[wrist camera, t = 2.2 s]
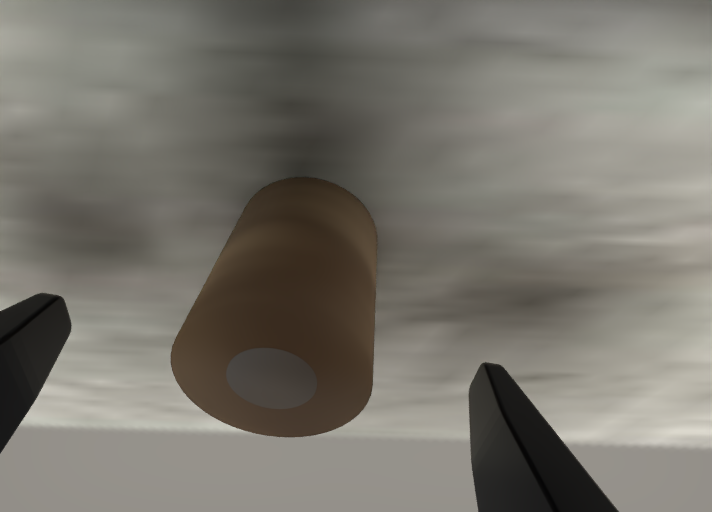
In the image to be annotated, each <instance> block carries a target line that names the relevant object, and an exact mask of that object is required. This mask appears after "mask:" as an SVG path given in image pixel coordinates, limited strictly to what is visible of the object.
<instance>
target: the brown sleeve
mask: <svg viewBox="0 0 712 512" xmlns="http://www.w3.org/2000/svg"><path fill="white" fill-rule="evenodd" d="M376 270H377V232H376V227H375V224H374V221H373V219H372V217H371V215H370V213H369V212H368V210H367V209H366V208H365V206H364V205H363V204H362V203H361V202H360V201H359V200H358V199H357V198H356V197H355V196H354V195H353V194H351V193H350V192H348V191H347V190H345V189H344V188H342V187H340V186H338V185H336V184H333V183H331V182H328V181H325V180H321V179H316V178H308V177H295V178H288V179H283V180H280V181H277V182H274V183H272V184H269V185H268V186H266V187H264V188H263V189H261V190H260V191H259V192H257V193H256V194H255V195H254V196H253V197H252V198H251V199H250V201H249V202H248V204H247V205H246V207H245V209H244V211H243V213H242V214H241V216H240V218H239V220H238V222H237V224H236V226H235V228H234V229H233V231H232V233H231V235H230V237H229V239H228V241H227V243H226V245H225V246H224V248H223V250H222V252H221V254H220V256H219V258H218V260H217V262H216V263H215V265H214V267H213V269H212V271H211V273H210V275H209V277H208V278H207V280H206V282H205V284H204V286H203V288H202V290H201V292H200V294H199V295H198V297H197V299H196V301H195V303H194V305H193V307H192V309H191V310H190V312H189V314H188V316H187V318H186V320H185V322H184V324H183V326H182V327H181V329H180V331H179V333H178V335H177V337H176V339H175V341H174V344H173V346H172V351H171V366H172V371H173V374H174V376H175V379H176V381H177V383H178V384H179V386H180V388H181V389H182V390H183V392H184V393H185V394H186V395H187V397H188V398H189V399H190V400H191V401H192V402H193V403H194V404H196V405H197V406H198V407H199V408H201V409H202V410H203V411H205V412H206V413H208V414H209V415H211V416H212V417H214V418H216V419H218V420H220V421H222V422H224V423H226V424H228V425H231V426H233V427H236V428H239V429H242V430H245V431H248V432H252V433H256V434H262V435H267V436H276V437H304V436H312V435H317V434H321V433H325V432H328V431H331V430H334V429H336V428H339V427H341V426H343V425H345V424H346V423H348V422H350V421H351V420H352V419H354V418H355V417H356V416H357V415H358V414H359V413H360V412H361V411H362V410H363V409H364V407H365V406H366V404H367V403H368V400H369V398H370V396H371V392H372V386H373V359H374V329H375V299H376Z"/></svg>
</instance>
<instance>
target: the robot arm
mask: <svg viewBox="0 0 712 512" xmlns="http://www.w3.org/2000/svg"><path fill="white" fill-rule="evenodd" d="M70 332H71V320H70V317H69V313H68V310H67V307H66V303H65V300H64V299H63V298H62V297H61V296H59V295H53V294H47V293H39V294H36V295H34V296H32V297H30V298H28V299H26V300H23V301H21V302H19V303H17V304H15V305H13V306H11V307H9V308H6V309H4V310H2V311H0V453H1V452H2V450H3V449H4V447H5V445H6V444H7V443H8V441H9V439H10V438H11V436H12V435H13V434H14V432H15V430H16V429H17V427H18V426H19V424H20V423H21V421H22V420H23V418H24V417H25V415H26V414H27V412H28V411H29V409H30V408H31V406H32V404H33V403H34V401H35V400H36V398H37V396H38V394H39V393H40V391H41V389H42V387H43V385H44V383H45V381H46V379H47V377H48V375H49V373H50V372H51V370H52V368H53V366H54V364H55V362H56V360H57V358H58V356H59V354H60V352H61V350H62V348H63V346H64V344H65V342H66V340H67V339H68V337H69V334H70ZM469 417H470V444H471V463H472V471H473V477H474V485H475V492H476V498H477V505H478V512H619V511H618V510H617V509H616V507H615V506H614V505H613V504H612V502H611V501H610V500H609V499H608V498H607V496H606V495H605V494H604V493H603V491H602V490H601V489H600V488H599V486H598V485H597V484H596V483H595V481H594V480H593V479H592V477H591V476H590V475H589V474H588V473H587V471H586V470H585V469H584V468H583V466H582V465H581V464H580V462H579V461H578V460H577V459H576V457H575V456H574V455H573V454H572V452H571V451H570V450H569V449H568V447H567V446H566V445H565V444H564V442H563V441H562V440H561V439H560V437H559V436H558V435H557V434H556V432H555V431H554V430H553V429H552V427H551V426H550V425H549V424H548V422H547V421H546V420H545V419H544V417H543V416H542V415H541V414H540V412H539V411H538V410H537V409H536V407H535V406H534V405H533V404H532V402H531V401H530V400H529V399H528V397H527V396H526V395H525V394H524V392H523V391H522V390H521V389H520V387H519V386H518V385H517V384H516V382H515V381H514V380H513V379H512V377H511V376H510V375H509V374H508V372H507V371H506V370H505V369H504V367H502V366H501V365H499V364H493V363H486V362H485V363H482V364H481V365H480V367H479V369H478V371H477V373H476V375H475V377H474V379H473V381H472V383H471V385H470V388H469Z"/></svg>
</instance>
